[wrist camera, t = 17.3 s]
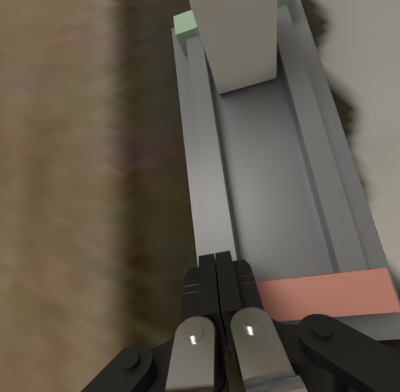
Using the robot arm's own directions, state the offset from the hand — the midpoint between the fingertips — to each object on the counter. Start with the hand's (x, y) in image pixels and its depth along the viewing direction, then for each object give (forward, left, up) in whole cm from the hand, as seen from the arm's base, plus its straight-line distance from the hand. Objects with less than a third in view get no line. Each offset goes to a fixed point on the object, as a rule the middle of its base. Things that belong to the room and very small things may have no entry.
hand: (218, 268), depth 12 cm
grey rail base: (+7, +4, -5) cm, 10 cm away
